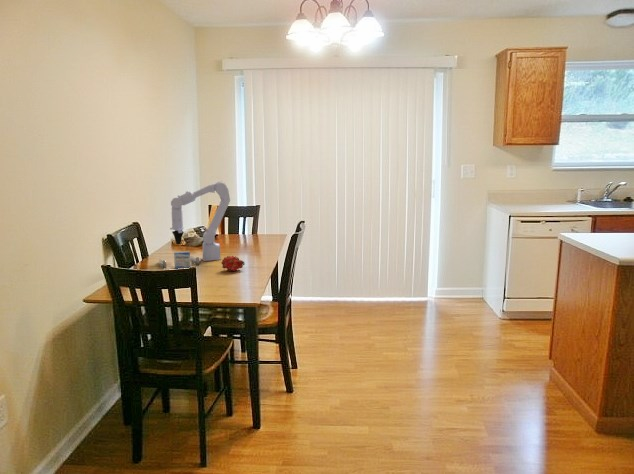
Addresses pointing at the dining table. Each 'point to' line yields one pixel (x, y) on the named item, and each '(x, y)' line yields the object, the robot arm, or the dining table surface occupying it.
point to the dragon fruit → (232, 263)
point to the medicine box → (182, 259)
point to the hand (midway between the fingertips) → (178, 244)
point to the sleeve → (195, 261)
